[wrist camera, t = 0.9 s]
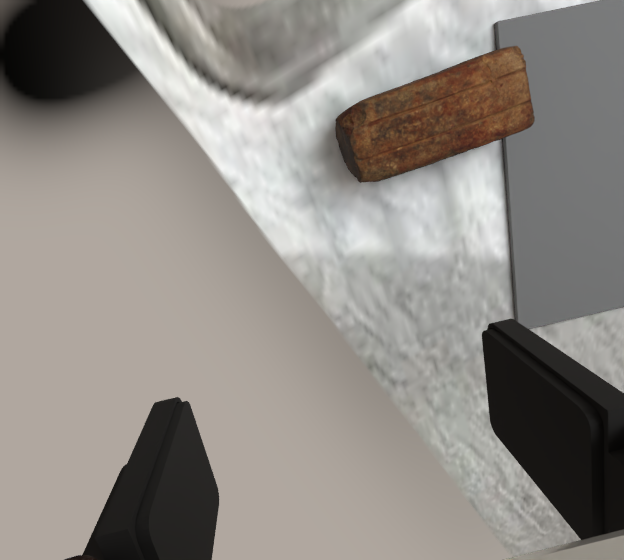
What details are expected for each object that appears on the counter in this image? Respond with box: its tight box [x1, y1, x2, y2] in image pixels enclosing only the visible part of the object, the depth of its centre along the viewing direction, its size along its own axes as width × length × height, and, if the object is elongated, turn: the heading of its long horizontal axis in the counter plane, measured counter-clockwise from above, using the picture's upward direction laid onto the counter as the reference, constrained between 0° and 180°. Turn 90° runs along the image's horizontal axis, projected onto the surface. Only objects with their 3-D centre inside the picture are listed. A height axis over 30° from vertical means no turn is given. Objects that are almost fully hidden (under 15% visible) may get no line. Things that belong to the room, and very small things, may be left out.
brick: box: [336, 46, 535, 183], centre depth 26 cm, size 11×4×5 cm
